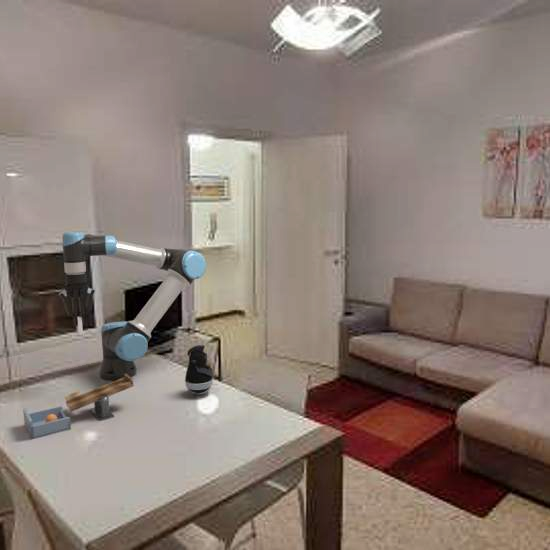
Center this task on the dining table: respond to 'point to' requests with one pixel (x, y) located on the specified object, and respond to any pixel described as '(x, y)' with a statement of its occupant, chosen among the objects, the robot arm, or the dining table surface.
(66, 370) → the dining table surface
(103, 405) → the stand
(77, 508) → the dining table surface
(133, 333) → the robot arm
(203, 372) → the toy
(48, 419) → the ball
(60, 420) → the tray
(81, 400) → the lever
